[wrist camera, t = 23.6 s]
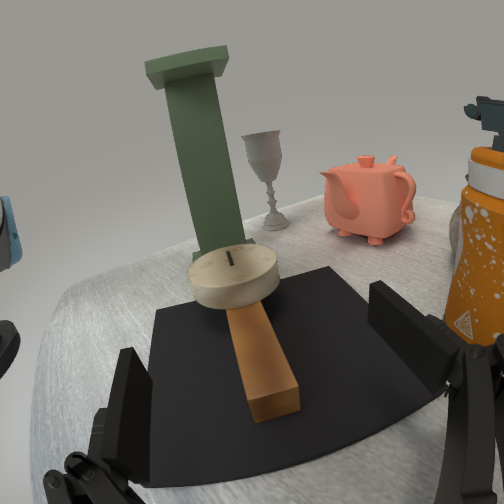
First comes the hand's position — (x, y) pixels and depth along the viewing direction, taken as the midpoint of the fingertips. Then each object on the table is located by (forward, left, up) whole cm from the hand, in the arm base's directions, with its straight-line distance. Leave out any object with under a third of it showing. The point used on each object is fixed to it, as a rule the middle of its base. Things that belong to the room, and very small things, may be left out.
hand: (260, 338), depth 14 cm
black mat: (+1, +7, -8) cm, 10 cm away
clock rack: (0, +27, -8) cm, 28 cm away
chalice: (+11, +39, -8) cm, 41 cm away
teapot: (+24, +26, -8) cm, 36 cm away
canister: (+19, -3, -8) cm, 21 cm away
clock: (0, +8, -7) cm, 11 cm away
